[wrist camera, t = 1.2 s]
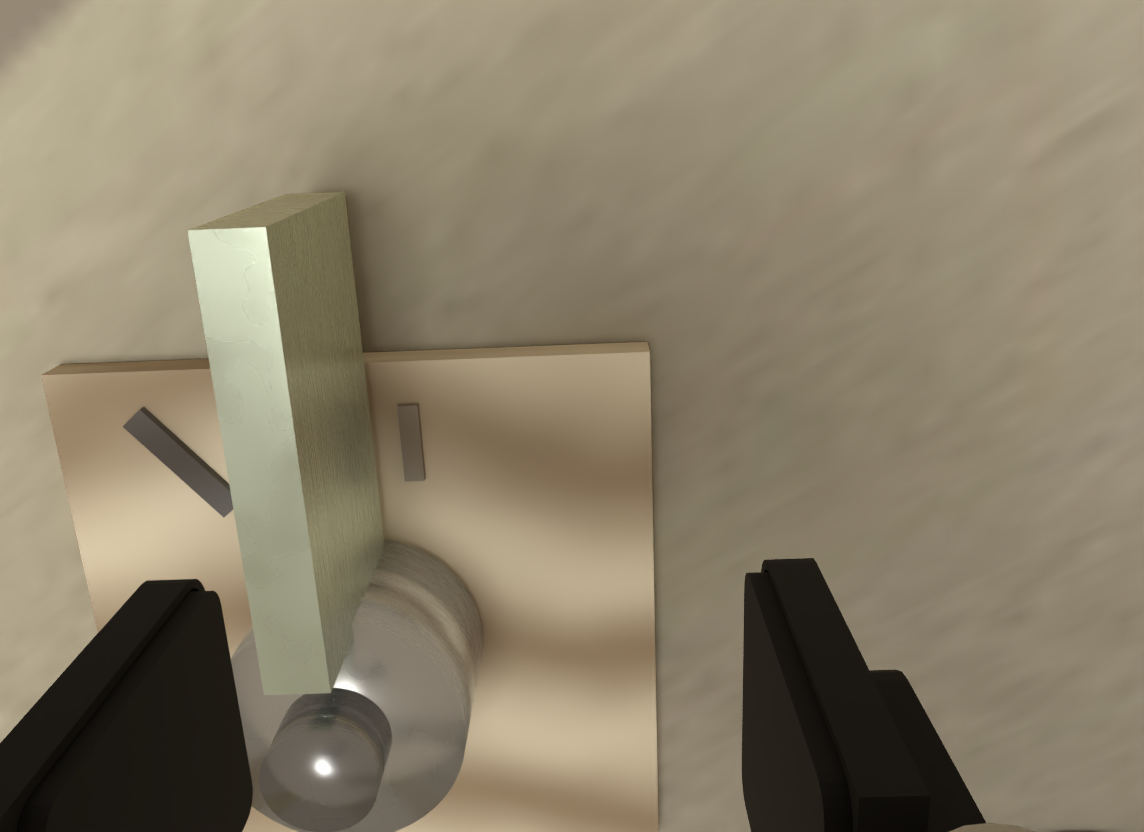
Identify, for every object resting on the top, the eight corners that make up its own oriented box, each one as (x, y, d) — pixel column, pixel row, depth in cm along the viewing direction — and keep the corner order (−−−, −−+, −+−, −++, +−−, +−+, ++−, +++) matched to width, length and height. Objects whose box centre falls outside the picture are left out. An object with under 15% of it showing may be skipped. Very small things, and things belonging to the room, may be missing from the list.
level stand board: (656, 825, 36) (659, 856, 34) (162, 839, 36) (145, 870, 35) (647, 341, 30) (650, 354, 28) (61, 364, 30) (35, 378, 29)
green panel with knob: (490, 726, 33) (465, 905, 25) (280, 733, 33) (196, 913, 26) (446, 185, 27) (398, 221, 20) (193, 196, 27) (56, 236, 20)
